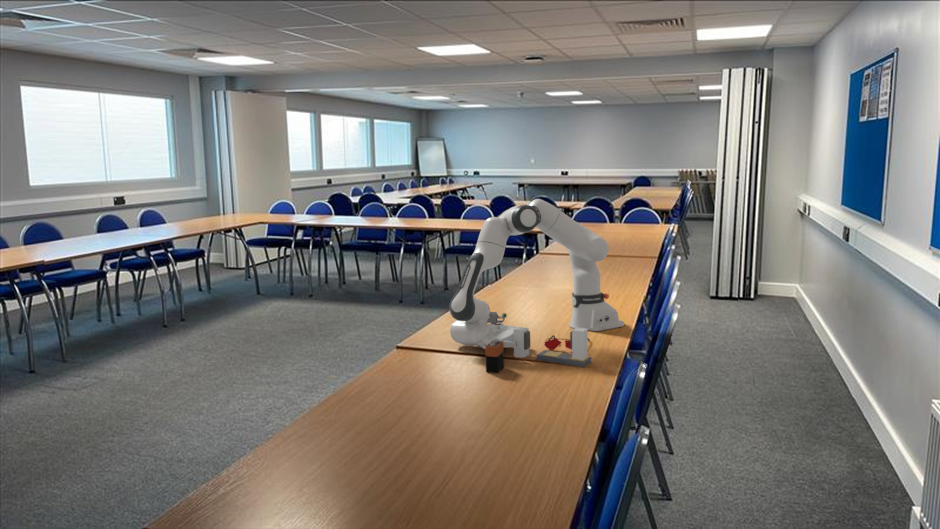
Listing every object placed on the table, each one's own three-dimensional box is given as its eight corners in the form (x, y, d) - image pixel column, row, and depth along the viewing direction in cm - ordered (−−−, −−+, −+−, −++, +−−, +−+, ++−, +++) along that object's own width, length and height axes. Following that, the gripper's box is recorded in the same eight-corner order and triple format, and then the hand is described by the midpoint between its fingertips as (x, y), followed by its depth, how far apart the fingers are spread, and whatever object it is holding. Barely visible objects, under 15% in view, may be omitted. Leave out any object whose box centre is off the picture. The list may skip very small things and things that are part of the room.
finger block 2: (570, 358, 224) (569, 329, 223) (574, 354, 227) (574, 326, 226) (583, 360, 222) (582, 331, 220) (587, 356, 225) (587, 328, 223)
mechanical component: (506, 338, 259) (505, 313, 257) (480, 337, 261) (480, 313, 259) (507, 336, 262) (506, 312, 260) (482, 335, 264) (481, 311, 262)
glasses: (543, 351, 242) (543, 338, 241) (554, 339, 257) (554, 326, 256) (581, 354, 237) (581, 340, 236) (590, 341, 252) (590, 329, 251)
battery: (504, 367, 224) (503, 338, 222) (498, 373, 218) (497, 344, 216) (492, 366, 226) (491, 338, 224) (485, 372, 219) (484, 343, 218)
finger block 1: (514, 356, 235) (513, 329, 234) (519, 353, 239) (518, 326, 237) (525, 358, 233) (525, 331, 231) (531, 355, 236) (530, 328, 235)
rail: (536, 360, 230) (536, 354, 230) (544, 355, 235) (544, 349, 235) (584, 367, 221) (584, 361, 220) (591, 362, 226) (591, 356, 225)
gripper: (474, 335, 233) (508, 339, 226) (502, 322, 250) (535, 325, 243) (474, 352, 234) (508, 357, 227) (503, 337, 251) (535, 342, 244)
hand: (522, 341), depth 235 cm, fingers open, 8 cm apart
